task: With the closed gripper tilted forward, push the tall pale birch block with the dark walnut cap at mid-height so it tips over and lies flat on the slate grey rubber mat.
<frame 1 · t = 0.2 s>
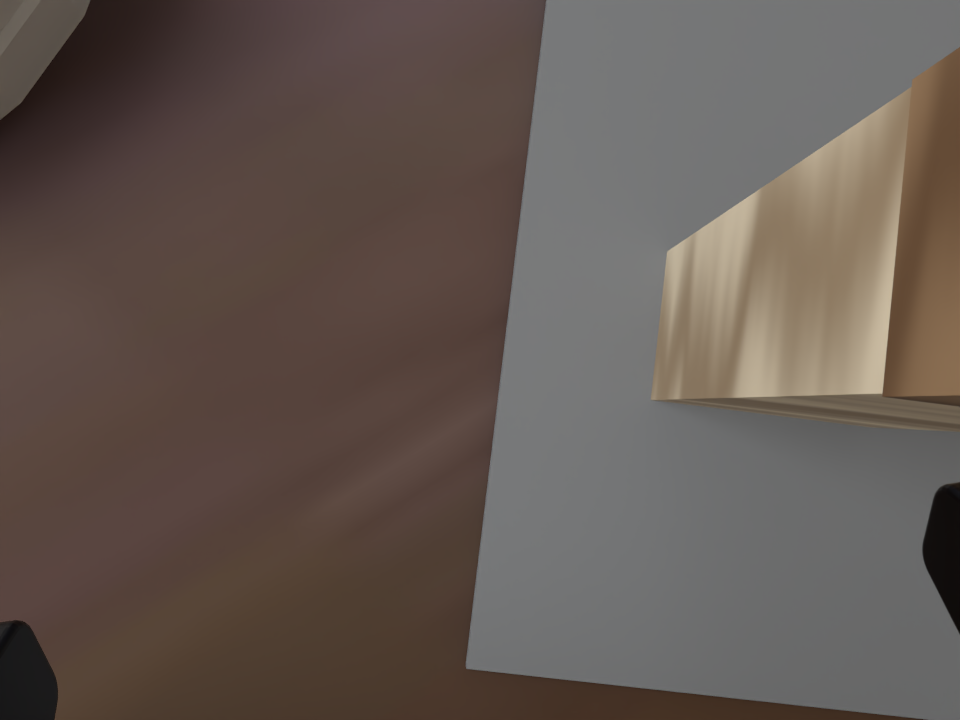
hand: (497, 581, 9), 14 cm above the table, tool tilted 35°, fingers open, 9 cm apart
rubber mat: (776, 213, 24), on the table
birch block: (769, 339, 23), resting on rubber mat
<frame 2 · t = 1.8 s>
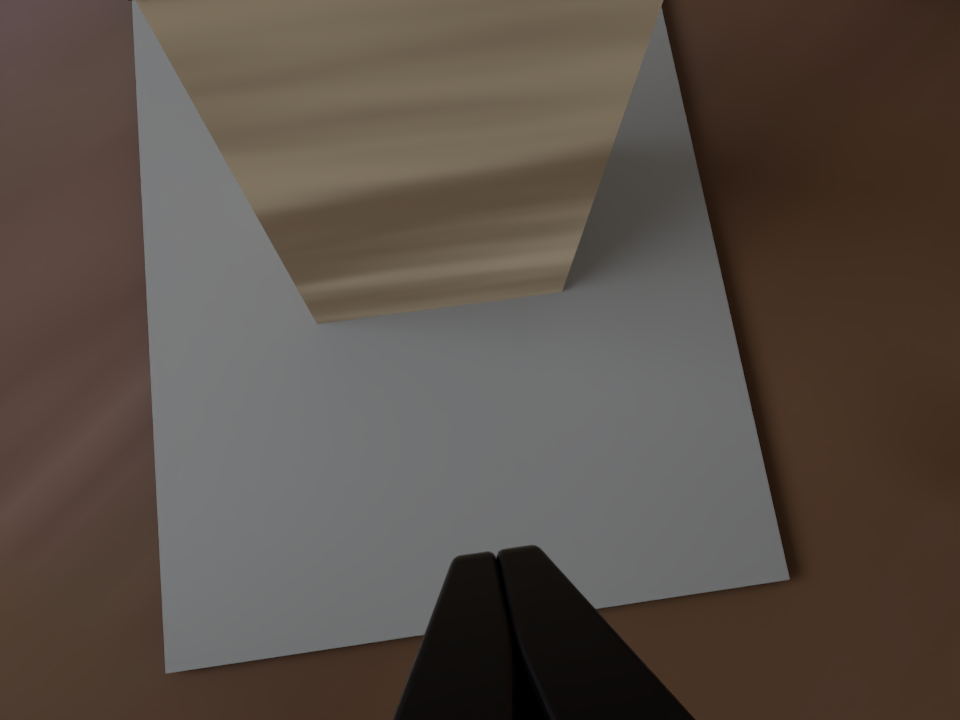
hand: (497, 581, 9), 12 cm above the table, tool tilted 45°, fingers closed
rubber mat: (413, 113, 23), on the table
birch block: (429, 231, 21), resting on rubber mat
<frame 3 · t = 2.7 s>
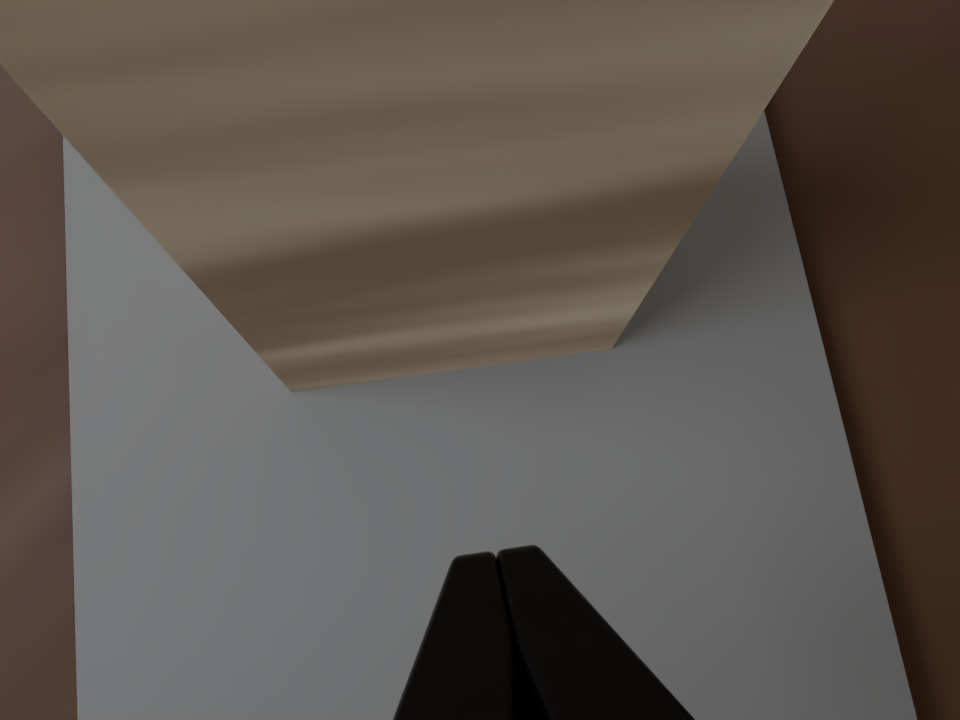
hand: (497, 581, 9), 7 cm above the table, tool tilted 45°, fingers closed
rubber mat: (417, 117, 18), on the table
birch block: (438, 270, 16), resting on rubber mat
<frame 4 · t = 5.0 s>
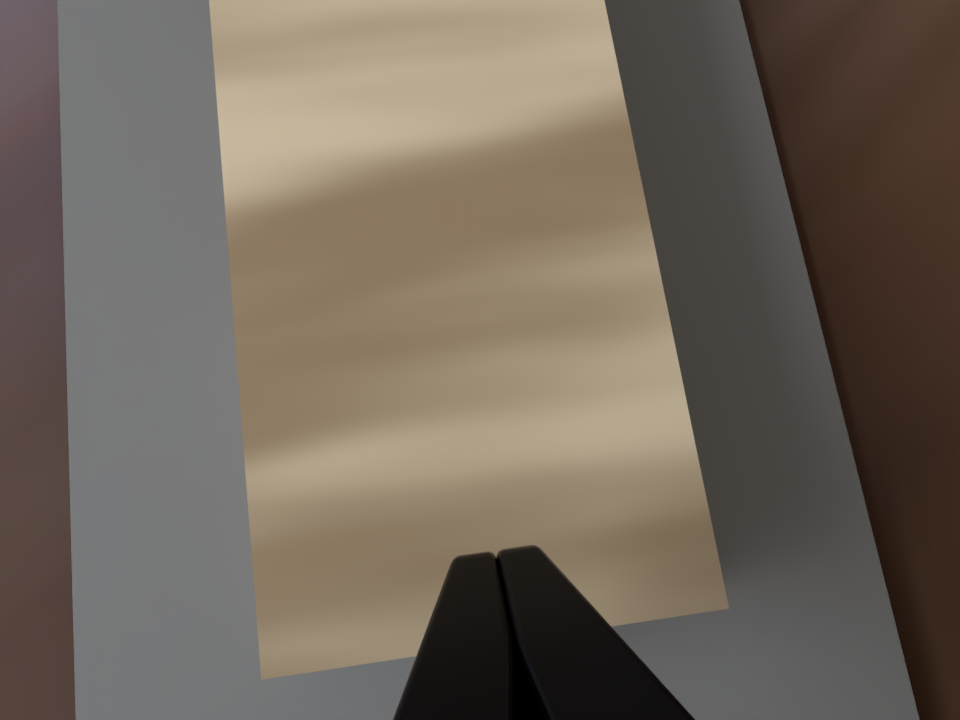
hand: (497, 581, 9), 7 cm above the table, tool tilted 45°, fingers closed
rubber mat: (477, 547, 16), on the table
birch block: (493, 633, 13), point 2 cm above the table, tilted 90°, touching rubber mat
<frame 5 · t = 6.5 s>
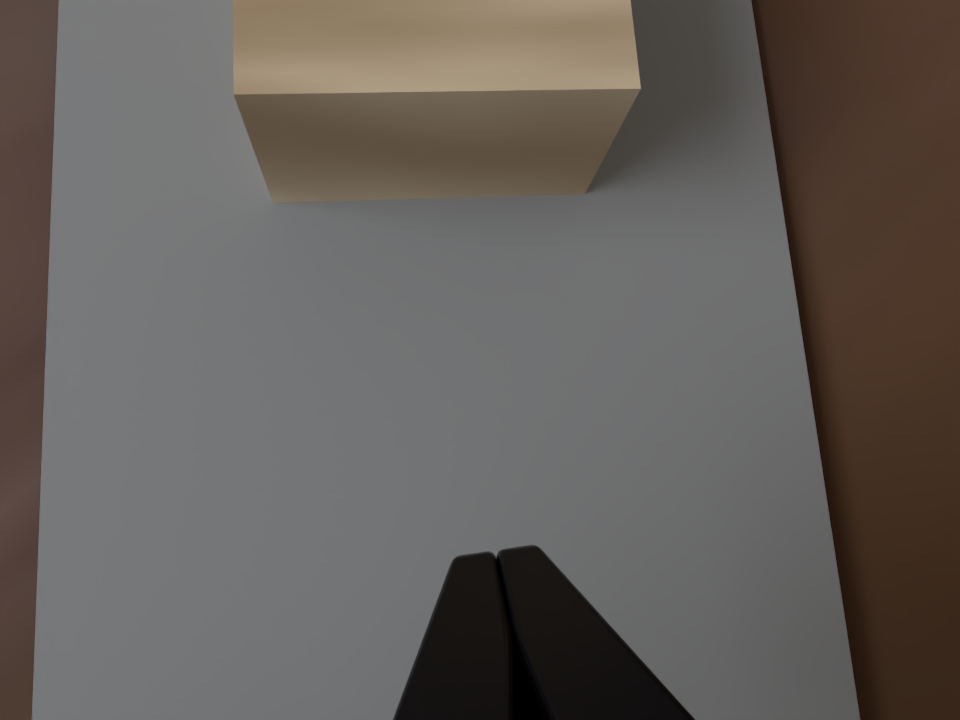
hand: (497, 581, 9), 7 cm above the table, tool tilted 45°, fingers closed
rubber mat: (427, 142, 17), on the table
birch block: (436, 152, 15), point 2 cm above the table, tilted 90°, touching rubber mat
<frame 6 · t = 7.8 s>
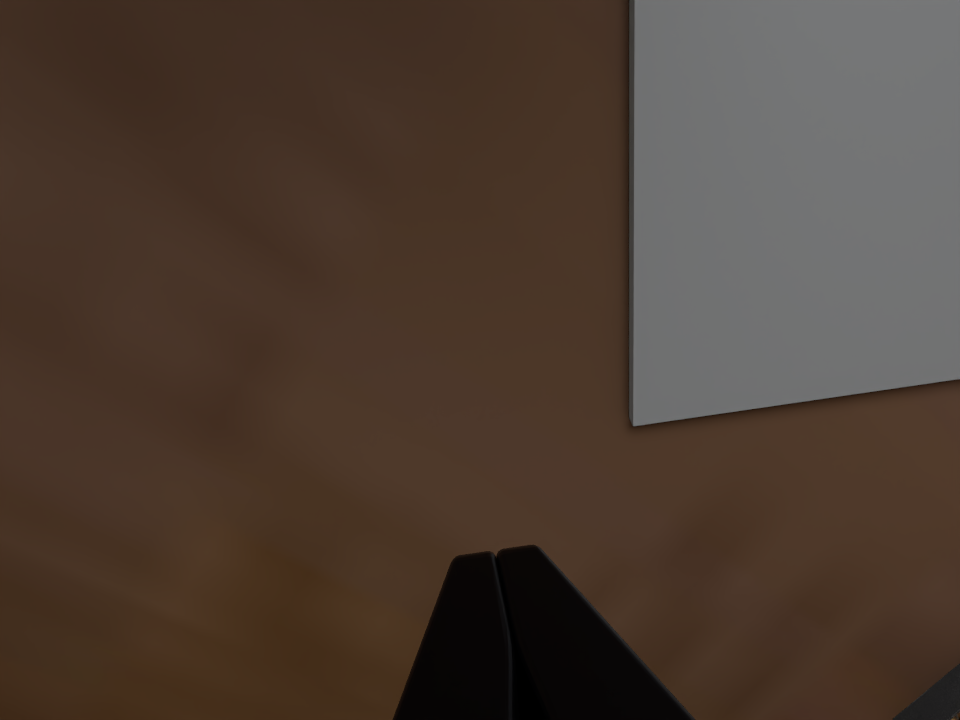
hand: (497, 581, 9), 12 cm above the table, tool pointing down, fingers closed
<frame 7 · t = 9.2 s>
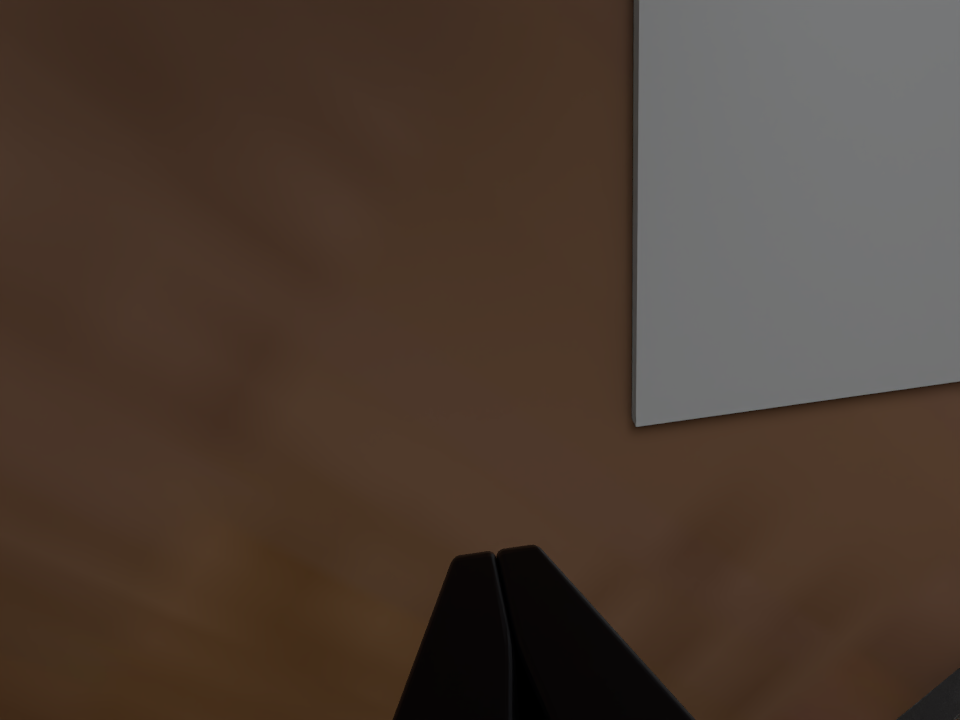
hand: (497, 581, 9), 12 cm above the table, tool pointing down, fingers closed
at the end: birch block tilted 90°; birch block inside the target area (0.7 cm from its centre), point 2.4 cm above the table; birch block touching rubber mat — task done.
